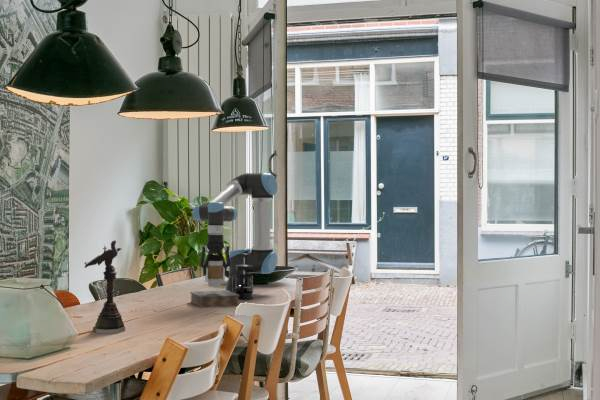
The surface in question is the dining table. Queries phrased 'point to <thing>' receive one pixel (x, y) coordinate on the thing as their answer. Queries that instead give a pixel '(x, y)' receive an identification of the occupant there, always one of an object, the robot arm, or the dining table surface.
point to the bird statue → (108, 295)
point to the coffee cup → (215, 270)
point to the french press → (243, 282)
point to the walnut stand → (214, 298)
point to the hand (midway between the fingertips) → (214, 281)
